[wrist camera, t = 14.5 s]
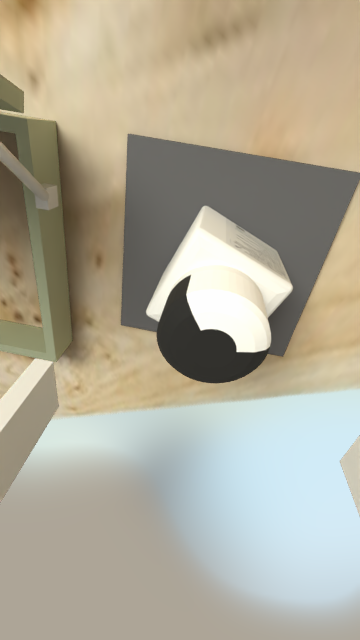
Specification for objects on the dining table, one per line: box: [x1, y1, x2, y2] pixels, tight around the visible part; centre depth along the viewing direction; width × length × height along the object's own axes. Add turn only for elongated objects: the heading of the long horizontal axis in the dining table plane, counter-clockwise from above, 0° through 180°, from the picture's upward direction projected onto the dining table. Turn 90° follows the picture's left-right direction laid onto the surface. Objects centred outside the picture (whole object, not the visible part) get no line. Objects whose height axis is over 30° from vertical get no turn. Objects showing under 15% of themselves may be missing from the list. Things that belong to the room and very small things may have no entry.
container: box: [146, 206, 293, 383], centre depth 22 cm, size 8×8×13 cm
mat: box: [121, 134, 360, 356], centre depth 27 cm, size 18×18×1 cm
